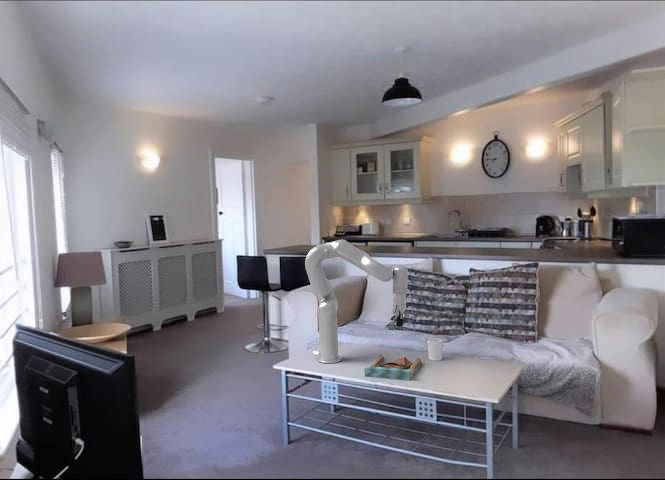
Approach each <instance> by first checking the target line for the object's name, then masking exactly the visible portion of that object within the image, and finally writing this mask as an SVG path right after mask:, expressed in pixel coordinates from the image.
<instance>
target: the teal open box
mask: <svg viewBox="0 0 665 480" xmlns="http://www.w3.org/2000/svg"><path fill="white" fill-rule="evenodd" d="M384 362H385V355H383V354H382V355H379V356H377V358H376V359H375V360H374V361H373V362H372V363H371V364H370V365H365V367H364V368H363V369H364V370H363V371H364V377H366V378H367V377H368V378H375V379H376V378H379V379H388V380H389V379H390V380H398V381H410V380H411V379H412V378H413V376H414V374H416V372H417V370H418V369H419V367H421V364H422V358H421V357H416V359H415V360H414V362H412V363H413V364H412V366H411V367H410V368H409V369H396V368H384V367H381V366H380V365H381V364H382V363H384Z"/></svg>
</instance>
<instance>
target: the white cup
mask: <svg viewBox="0 0 665 480" xmlns="http://www.w3.org/2000/svg"><path fill="white" fill-rule="evenodd" d="M426 342H427V344H426V345H427V353H428V360H430V361H432V360H433V361H435V362H438V361H439V362H440V361H442V360H443V349H444V348H443V347H444V344H443V343H444V339H442V338H439V337H430V338H427V339H426Z"/></svg>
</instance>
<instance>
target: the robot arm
mask: <svg viewBox="0 0 665 480" xmlns="http://www.w3.org/2000/svg"><path fill="white" fill-rule="evenodd" d="M337 257H339V258H341V259H342V260H344V261H346V262H348V263H350V264H352V265H353V266H355V267H356V268H358V269H360V270H362V271H363V272H365V273H367V274H369V275H370V276H372V277H373V278H375V279H377V280H379V281H382V282H384V283H385V282H386V283H388V282H390V281H391V280H392V294H393V298H392V313H393V314H395V315H396V316H395V319H396V320H395V321H396V322H395V327H399V328H400V327H401V328H402V327H403V326H404V313H405V312H406V310H407V309H406V308H407V307H406V306H407V295H408V293H409V292H408V290H409V289H408V288H409V287H408V283H409V281H408V280H409V279H408V278H409V269H408V267H407V266H403V265H397V266H396V265H395V266H393V265H384V264H383V263H381V262H379V261H378V260H375V258H373V257H372V256H370V255H369V254H368V253H367V252H366V251H364V250H362V249H360V248H358V247H356V246H354V245H353V244H351V243H349V241H347V240H346V239H342V238H341V239H338V240H333V241H329V242H326V243H321V244H318V245H316V246H315V245H314V247H312V248H311V249H310V250H309V252H307V255H306V256H305V261H304V265H305V266H304V267H305V272H306V275H307V277H308V281H309V283H310V286H311V291H312V293H313V295H314V296H315V297H316V298H317V299H318V303H319V305H318V308H317V315H318V318H317V319H318V330H319V331H318V332H319V350H314V351H313V352H312V353H313V356H316V357H317V360H316V361H317V362H318V363H322V364H336V363H338V362H342V360H343V359H342V356H341V355H339V335H338V334H339V333H338V332H339V330H338V315H337V314H338V309H339V303H338V299H337V297H336V294H335V290H334V288H333V285H332V282H331V281H330V280H329V279H328V278H327V277H326V275H325V271H324V268H323V266H322V265H323V264H322V263H323V262H324V261H326V260H329V259H333V258H337Z"/></svg>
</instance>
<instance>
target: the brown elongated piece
mask: <svg viewBox="0 0 665 480" xmlns="http://www.w3.org/2000/svg"><path fill="white" fill-rule="evenodd" d="M413 363H414V362H412V361H410V360H409V359H408V358H406V356H404V357H402V358H399V359H395V360H392V361H390V362H386V363H383V364H382V365H381V366H380V367H384V368H396V369H408V370H409V368H410V367H411V366H412V364H413Z"/></svg>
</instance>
